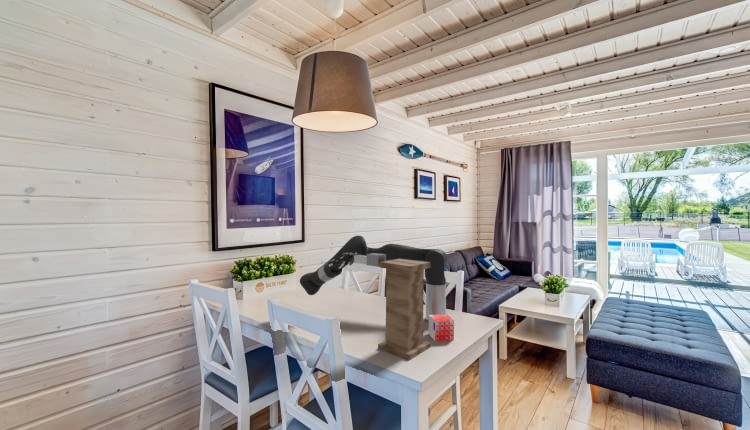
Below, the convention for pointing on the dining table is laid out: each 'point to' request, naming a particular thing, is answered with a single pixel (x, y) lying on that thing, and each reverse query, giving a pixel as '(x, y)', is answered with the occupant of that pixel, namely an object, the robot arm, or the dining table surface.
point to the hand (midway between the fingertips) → (353, 255)
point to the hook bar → (367, 259)
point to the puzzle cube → (441, 327)
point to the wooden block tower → (404, 307)
